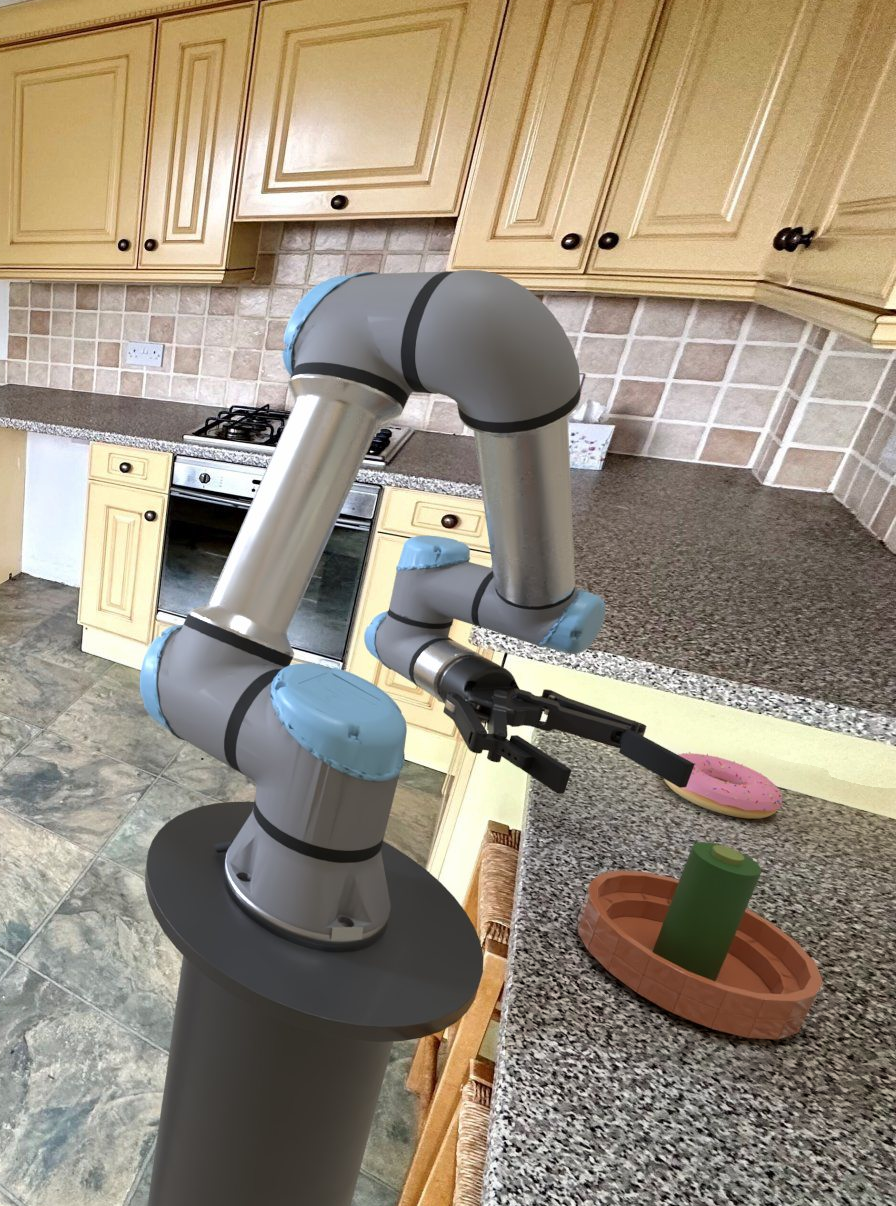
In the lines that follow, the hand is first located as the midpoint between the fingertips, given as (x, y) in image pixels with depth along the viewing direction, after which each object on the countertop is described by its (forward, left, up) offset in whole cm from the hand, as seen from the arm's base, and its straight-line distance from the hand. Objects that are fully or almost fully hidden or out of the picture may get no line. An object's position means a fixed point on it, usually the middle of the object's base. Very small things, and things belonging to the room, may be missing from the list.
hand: (626, 779), depth 77 cm
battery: (+7, -7, -14) cm, 17 cm away
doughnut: (+13, +33, -15) cm, 39 cm away
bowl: (+7, -7, -15) cm, 17 cm away
